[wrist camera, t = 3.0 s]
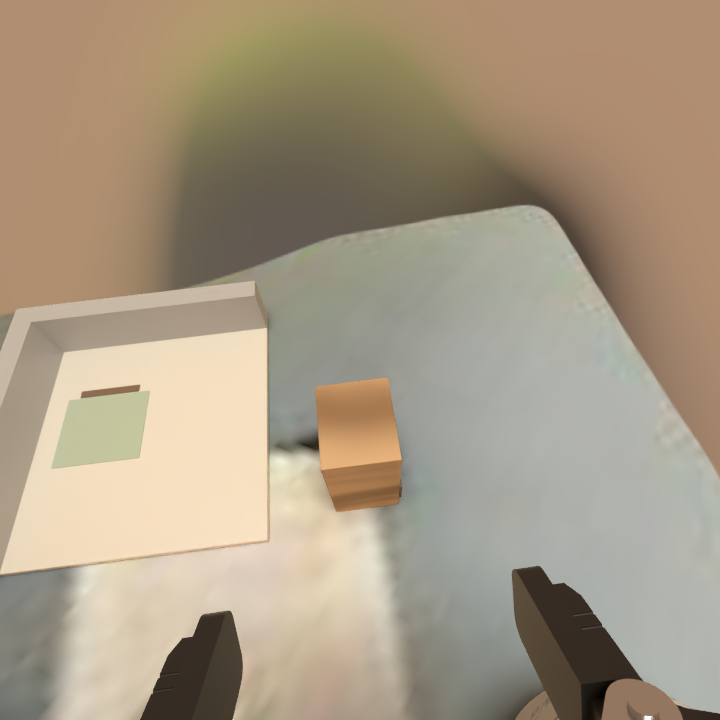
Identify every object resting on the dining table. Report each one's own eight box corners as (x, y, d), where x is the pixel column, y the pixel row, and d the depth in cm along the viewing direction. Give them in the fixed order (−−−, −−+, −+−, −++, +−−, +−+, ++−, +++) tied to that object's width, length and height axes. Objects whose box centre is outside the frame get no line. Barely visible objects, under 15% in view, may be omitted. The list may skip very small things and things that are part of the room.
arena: (269, 541, 31) (250, 524, 27) (-18, 578, 31) (-83, 567, 26) (268, 317, 42) (254, 280, 37) (54, 343, 41) (16, 309, 37)
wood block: (401, 503, 32) (405, 459, 24) (336, 512, 32) (320, 469, 24) (390, 436, 35) (390, 377, 27) (330, 443, 35) (315, 386, 27)
